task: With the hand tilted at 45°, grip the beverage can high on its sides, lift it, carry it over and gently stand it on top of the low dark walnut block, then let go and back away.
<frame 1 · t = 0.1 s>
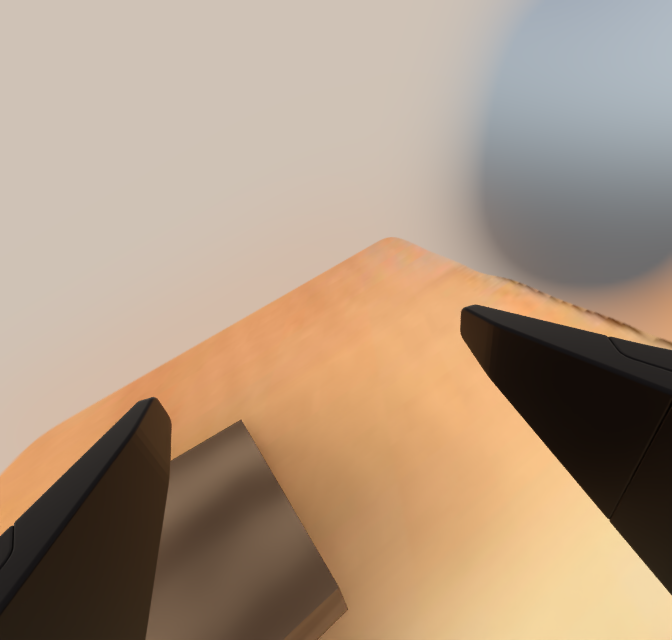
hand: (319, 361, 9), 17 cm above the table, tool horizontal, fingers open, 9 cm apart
walnut block: (190, 581, 20), on the table
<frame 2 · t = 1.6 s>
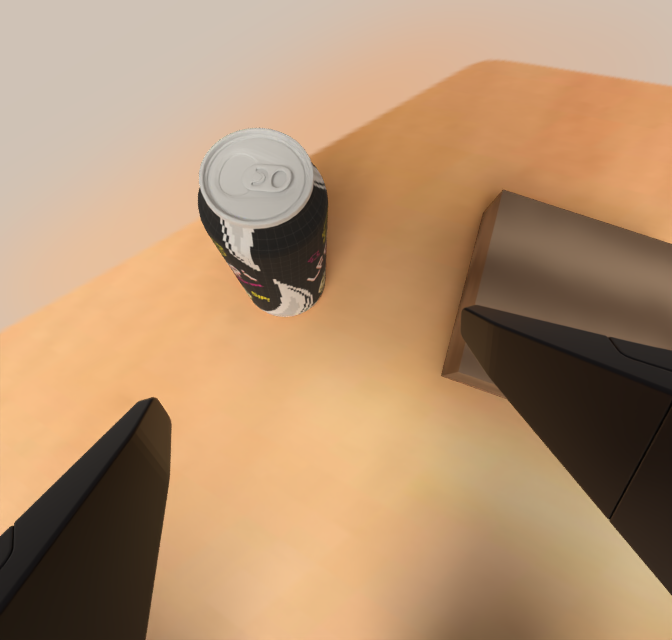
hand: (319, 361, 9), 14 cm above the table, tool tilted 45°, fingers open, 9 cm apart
walnut block: (552, 318, 25), on the table
beverage can: (287, 283, 25), on the table
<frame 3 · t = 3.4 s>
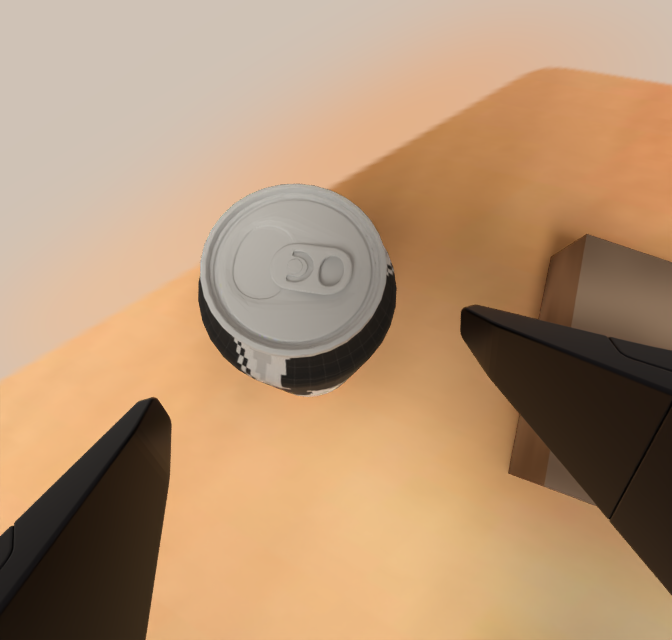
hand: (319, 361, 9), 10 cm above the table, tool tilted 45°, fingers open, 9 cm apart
walnut block: (644, 395, 20), on the table
beverage can: (310, 348, 20), on the table
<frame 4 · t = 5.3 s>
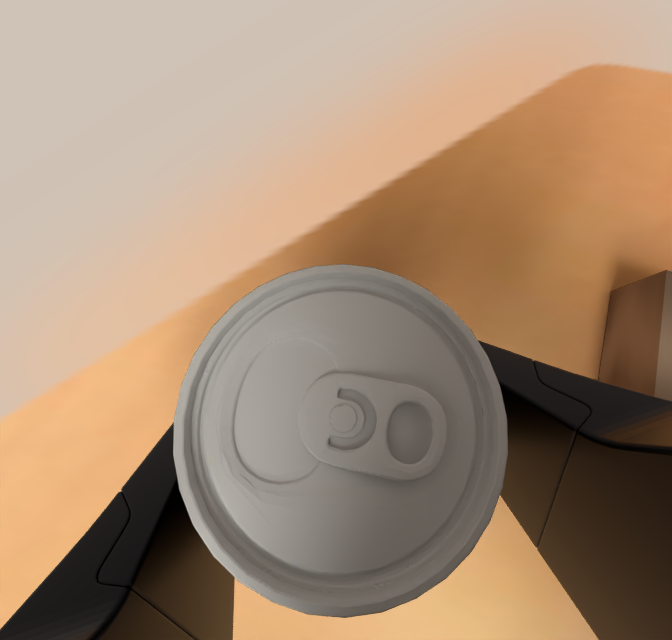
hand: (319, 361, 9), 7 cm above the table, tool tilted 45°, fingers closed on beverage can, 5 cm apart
beverage can: (327, 406, 16), on the table, touching gripper
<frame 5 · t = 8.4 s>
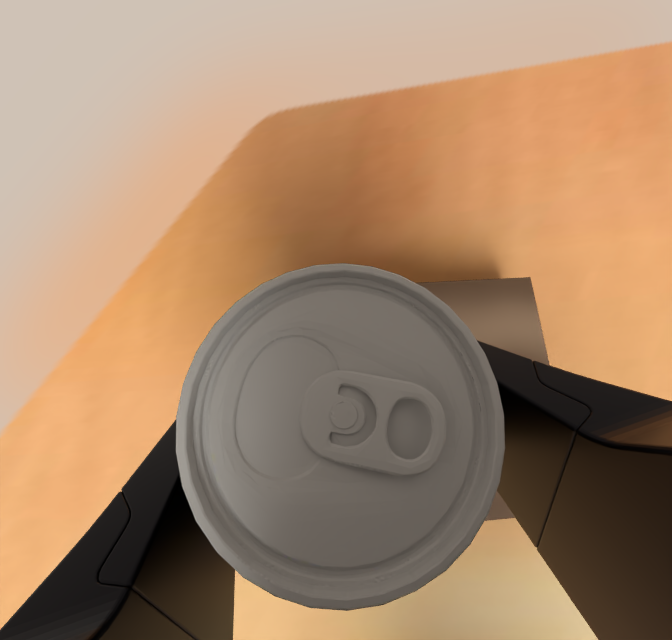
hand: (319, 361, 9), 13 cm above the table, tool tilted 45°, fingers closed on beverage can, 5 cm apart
walnut block: (426, 393, 22), on the table
beverage can: (323, 406, 16), point 6 cm above the table, touching gripper
when the fingers open (10 cm above the table, at t = 11.4 s): beverage can stays where it is, resting on walnut block.
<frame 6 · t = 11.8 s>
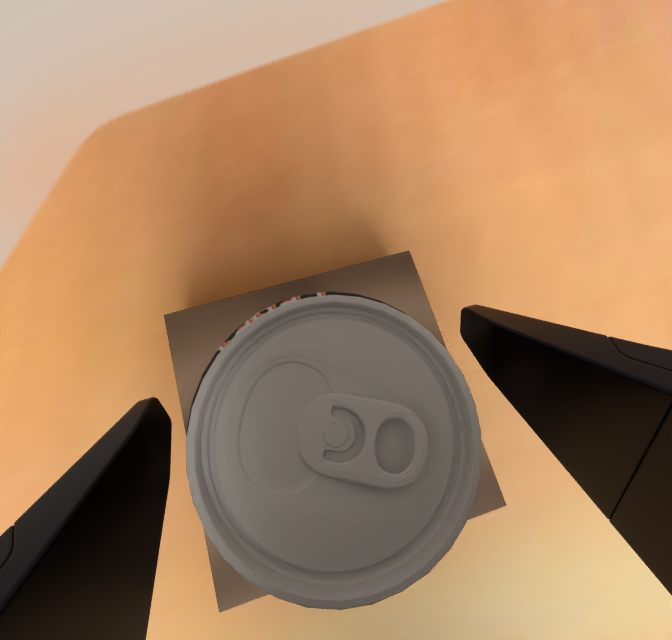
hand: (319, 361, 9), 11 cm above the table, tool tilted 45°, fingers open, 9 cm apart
walnut block: (326, 405, 19), on the table
beverage can: (324, 411, 17), point 3 cm above the table, touching walnut block
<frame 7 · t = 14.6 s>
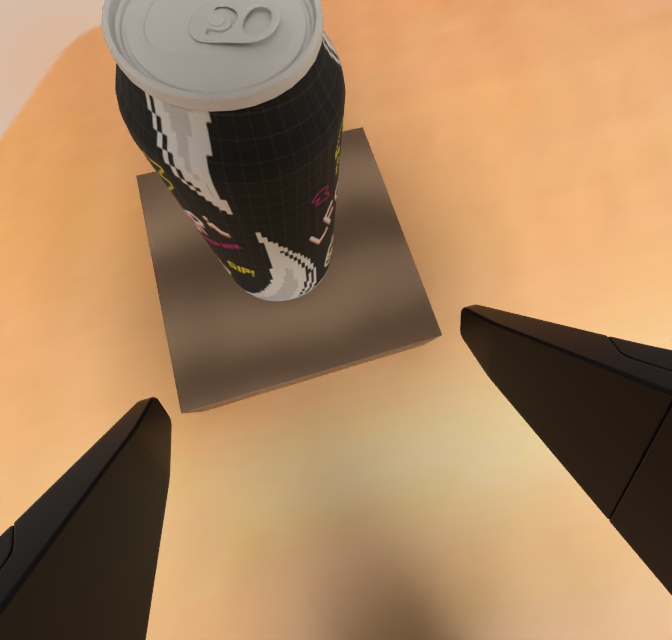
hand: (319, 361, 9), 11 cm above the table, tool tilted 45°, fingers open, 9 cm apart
walnut block: (288, 272, 21), on the table
beverage can: (281, 258, 19), point 3 cm above the table, touching walnut block
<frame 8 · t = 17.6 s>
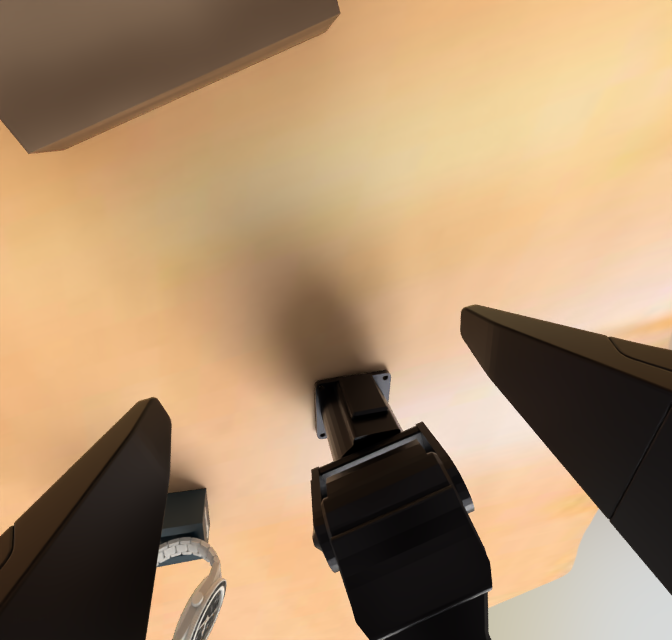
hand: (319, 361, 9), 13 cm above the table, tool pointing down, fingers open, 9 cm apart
watch: (184, 507, 31), on the table
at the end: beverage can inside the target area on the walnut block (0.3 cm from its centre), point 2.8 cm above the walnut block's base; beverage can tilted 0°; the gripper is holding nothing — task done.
